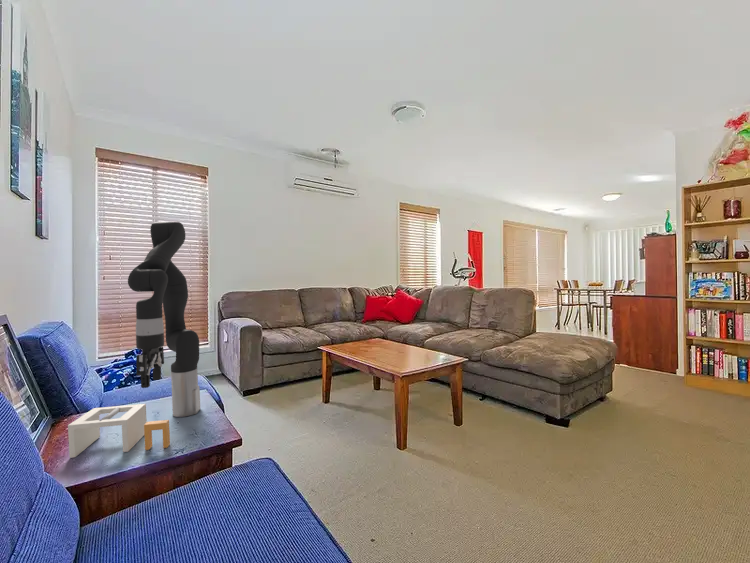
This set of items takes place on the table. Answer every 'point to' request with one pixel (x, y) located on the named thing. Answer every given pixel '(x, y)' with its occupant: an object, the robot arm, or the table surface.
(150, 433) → the orange u-shaped bracket
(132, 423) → the open-topped stand
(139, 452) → the table surface
